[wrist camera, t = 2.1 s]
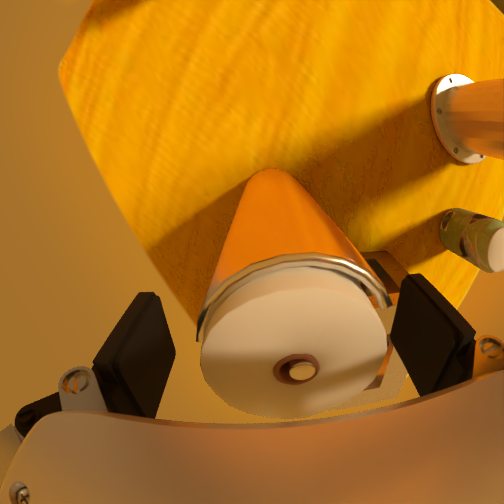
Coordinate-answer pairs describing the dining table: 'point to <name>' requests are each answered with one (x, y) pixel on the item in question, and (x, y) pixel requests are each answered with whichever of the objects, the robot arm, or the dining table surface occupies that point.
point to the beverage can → (474, 238)
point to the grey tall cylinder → (289, 307)
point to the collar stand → (392, 366)
